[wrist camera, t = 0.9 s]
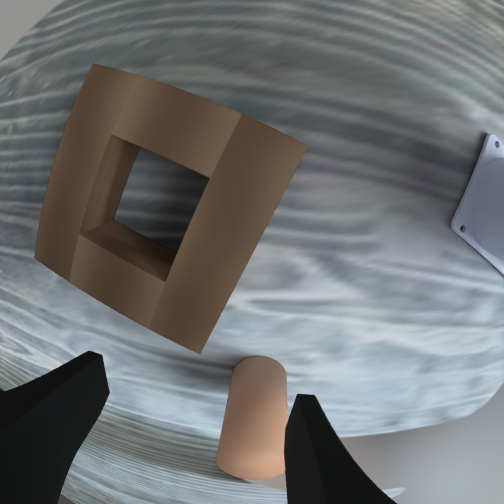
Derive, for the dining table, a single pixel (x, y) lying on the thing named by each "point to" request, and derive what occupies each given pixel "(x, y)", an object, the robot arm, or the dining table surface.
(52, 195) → the socket block
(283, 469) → the peg
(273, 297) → the dining table surface
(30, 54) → the dining table surface
